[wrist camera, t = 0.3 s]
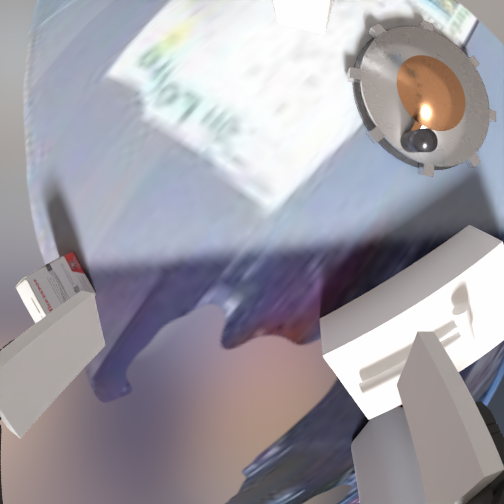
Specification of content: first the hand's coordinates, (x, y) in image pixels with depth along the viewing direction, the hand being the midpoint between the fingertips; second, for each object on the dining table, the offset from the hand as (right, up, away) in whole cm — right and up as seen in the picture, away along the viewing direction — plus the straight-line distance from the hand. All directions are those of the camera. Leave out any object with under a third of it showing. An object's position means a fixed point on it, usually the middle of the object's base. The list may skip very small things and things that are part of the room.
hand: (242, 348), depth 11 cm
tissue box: (+24, -5, +26) cm, 36 cm away
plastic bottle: (+28, -31, +33) cm, 53 cm away
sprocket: (+21, +22, +16) cm, 35 cm away
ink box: (-30, -1, +33) cm, 45 cm away
